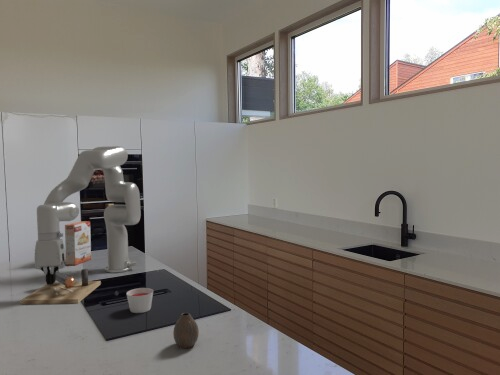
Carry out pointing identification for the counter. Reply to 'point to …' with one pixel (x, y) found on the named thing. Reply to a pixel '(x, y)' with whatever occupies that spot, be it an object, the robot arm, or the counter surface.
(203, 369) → the counter surface
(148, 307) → the candle
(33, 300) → the base
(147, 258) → the counter surface
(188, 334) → the vase
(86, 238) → the cracker box
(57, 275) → the lever
